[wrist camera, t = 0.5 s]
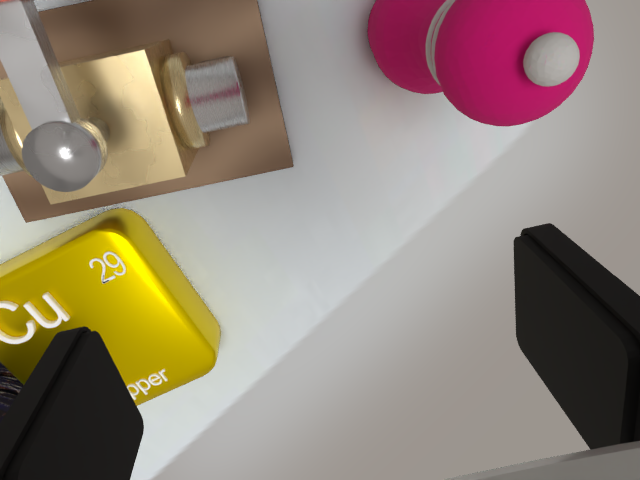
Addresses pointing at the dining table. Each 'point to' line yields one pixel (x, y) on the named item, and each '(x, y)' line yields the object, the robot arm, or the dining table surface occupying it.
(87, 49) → the valve board
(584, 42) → the pepper mill
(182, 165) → the ball valve
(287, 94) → the dining table surface
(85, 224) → the element tile
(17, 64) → the valve lever
